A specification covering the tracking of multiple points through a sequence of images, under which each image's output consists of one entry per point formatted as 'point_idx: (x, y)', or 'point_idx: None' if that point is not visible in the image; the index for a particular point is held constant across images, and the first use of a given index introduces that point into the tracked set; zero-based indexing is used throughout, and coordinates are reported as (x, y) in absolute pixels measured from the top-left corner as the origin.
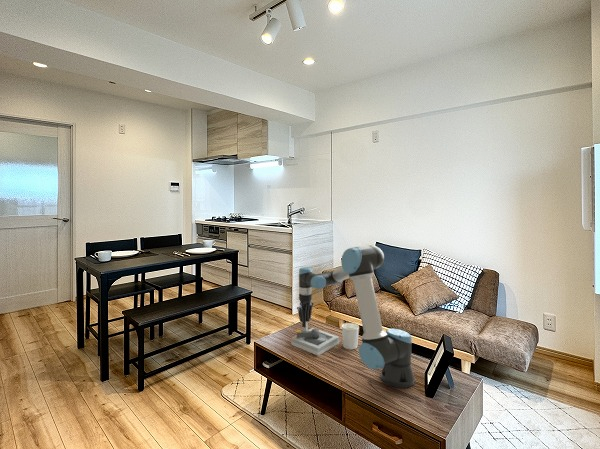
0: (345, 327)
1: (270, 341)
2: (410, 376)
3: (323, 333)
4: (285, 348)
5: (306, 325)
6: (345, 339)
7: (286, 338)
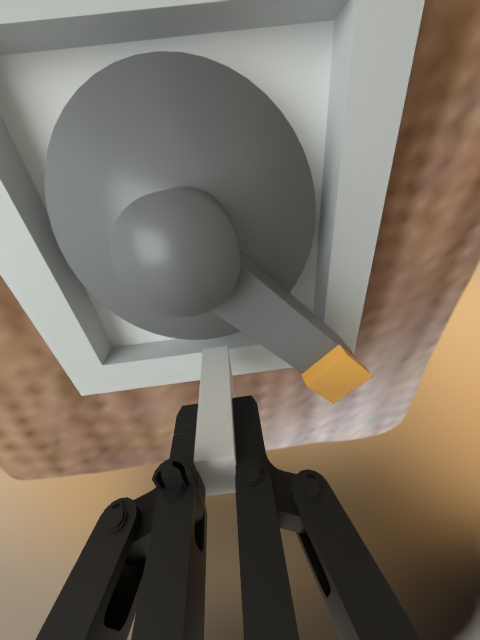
0: None
1: (361, 411)
2: None
3: (37, 248)
4: (393, 315)
5: (225, 408)
6: None
7: (282, 396)
